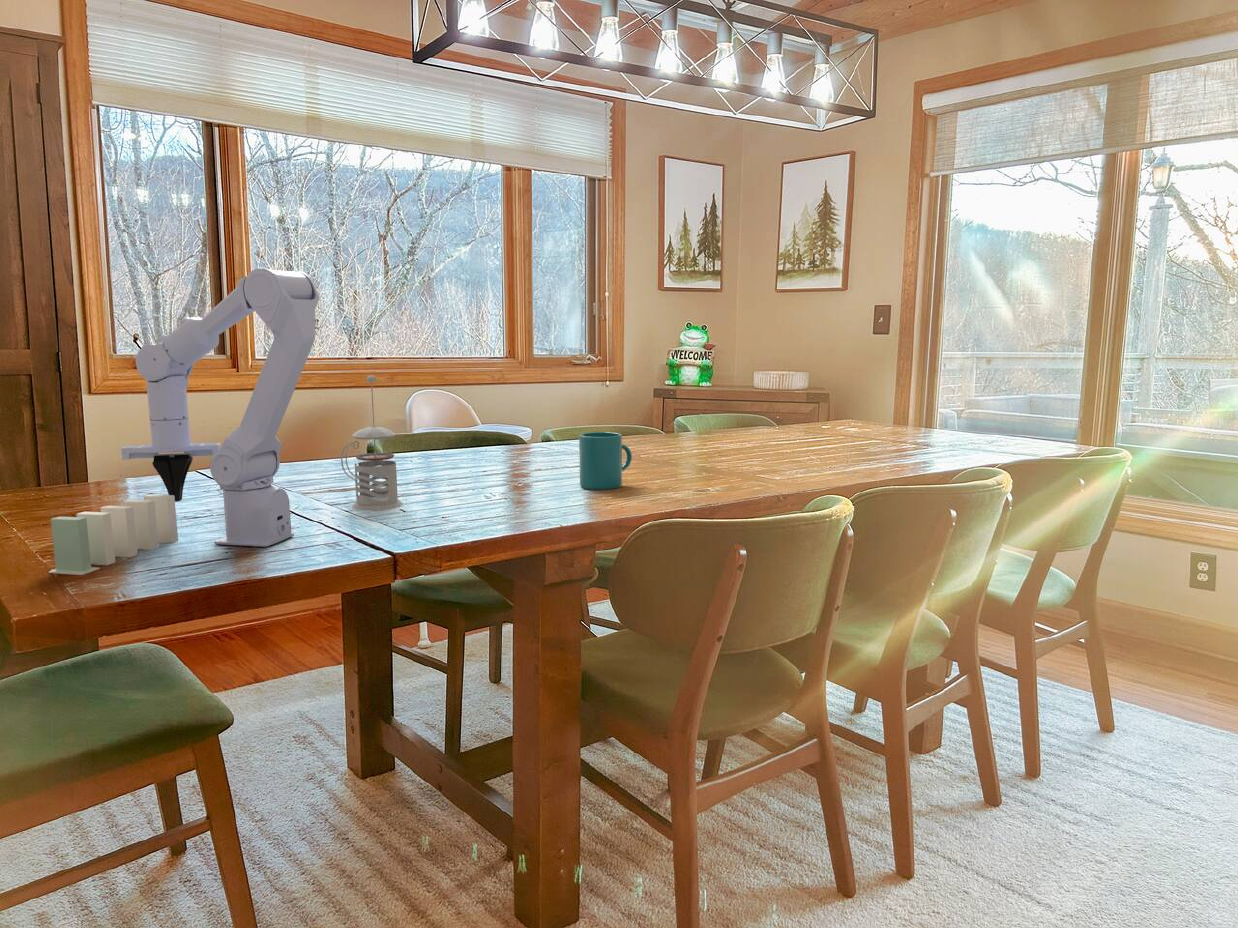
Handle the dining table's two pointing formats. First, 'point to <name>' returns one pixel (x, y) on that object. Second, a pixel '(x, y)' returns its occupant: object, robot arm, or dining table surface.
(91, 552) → the domino
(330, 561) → the dining table surface
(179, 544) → the dining table surface
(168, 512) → the domino
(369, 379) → the french press
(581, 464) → the cup
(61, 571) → the pad
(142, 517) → the domino
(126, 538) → the domino
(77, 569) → the domino
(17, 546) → the dining table surface
